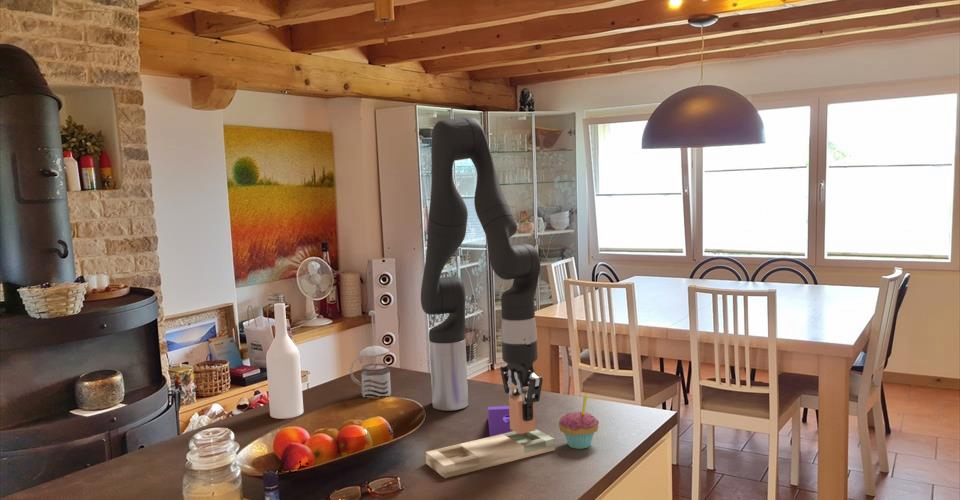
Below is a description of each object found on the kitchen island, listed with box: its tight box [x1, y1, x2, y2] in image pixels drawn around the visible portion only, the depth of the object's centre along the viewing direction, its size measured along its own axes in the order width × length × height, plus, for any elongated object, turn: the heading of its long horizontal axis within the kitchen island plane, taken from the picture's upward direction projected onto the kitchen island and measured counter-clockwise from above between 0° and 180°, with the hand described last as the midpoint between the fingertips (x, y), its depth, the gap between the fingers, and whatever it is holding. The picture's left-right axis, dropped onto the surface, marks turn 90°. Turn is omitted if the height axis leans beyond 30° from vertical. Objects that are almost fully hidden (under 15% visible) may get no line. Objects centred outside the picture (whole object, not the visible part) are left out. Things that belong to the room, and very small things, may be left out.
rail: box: [425, 429, 556, 479], centre depth 145 cm, size 9×26×2 cm, turn 118°
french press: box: [349, 310, 392, 398], centre depth 188 cm, size 10×12×25 cm
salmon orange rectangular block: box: [508, 394, 537, 434], centre depth 149 cm, size 4×4×7 cm
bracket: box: [487, 405, 513, 437], centre depth 163 cm, size 12×7×7 cm, turn 1°
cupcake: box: [558, 391, 600, 450], centre depth 149 cm, size 9×8×12 cm
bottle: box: [265, 302, 304, 420], centre depth 174 cm, size 8×8×30 cm
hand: (522, 417), depth 149 cm, fingers closed on salmon orange rectangular block, 4 cm apart
